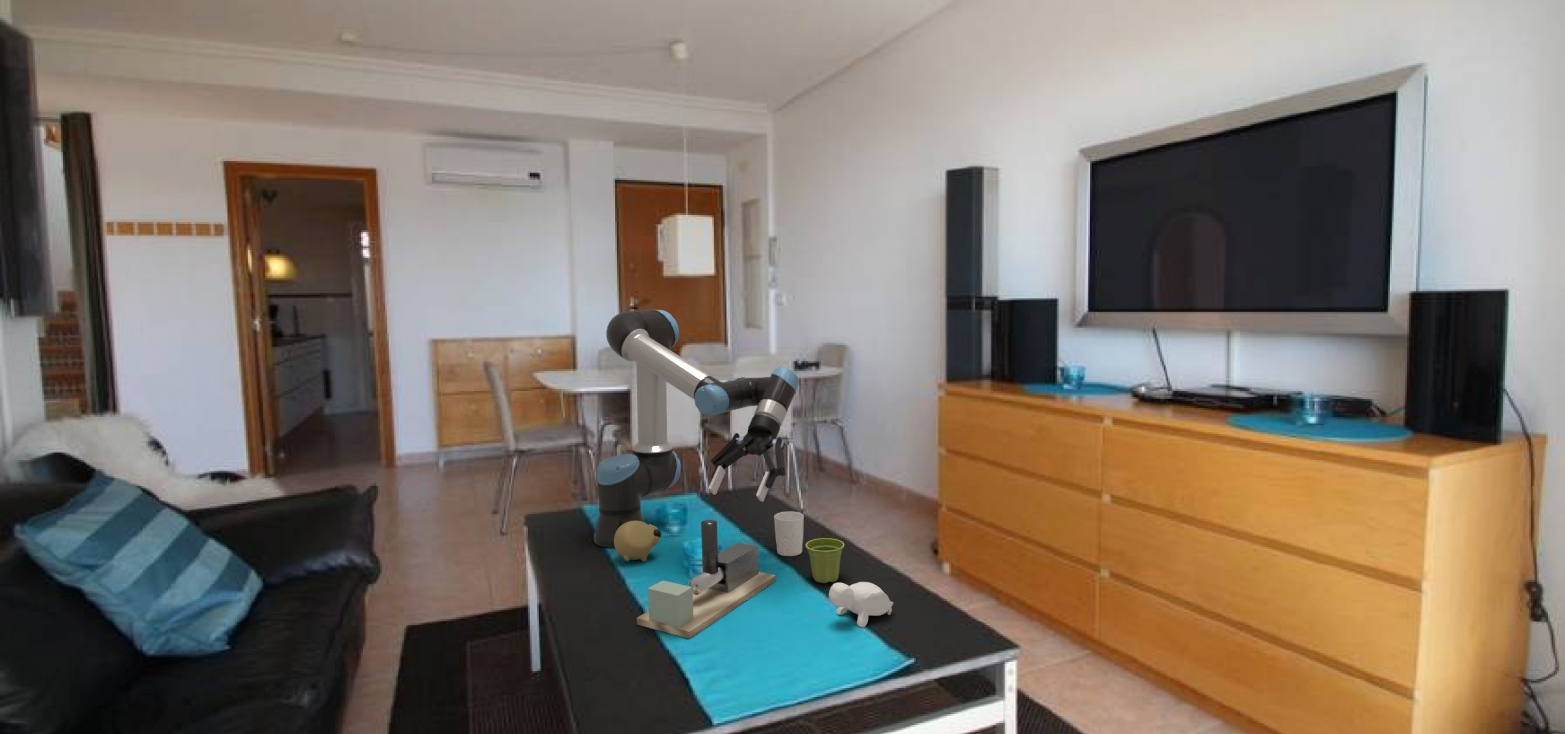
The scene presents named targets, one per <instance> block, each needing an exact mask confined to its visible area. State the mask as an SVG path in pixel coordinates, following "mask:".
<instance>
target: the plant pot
mask: <svg viewBox="0 0 1565 734" xmlns="http://www.w3.org/2000/svg"><path fill="white" fill-rule="evenodd" d="M805 548H806V549H807V553H808V554H809V559H810V560H809V561H810V565H811V566H810V567H811V572H812V578H813V579H814V581H815V582H817V583H821V584H827V583H829V582H831V583H835V582H836V581H838V579H839V575H840V566H841V556H842V553H843V549H844V548H845V543H844V541H842V540H839V539H836V538H831V537H830V538H827V537H826V538H825V537H822V538H814V539H811V540H809V541H807V542H806V543H805Z"/></svg>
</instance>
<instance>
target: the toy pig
mask: <svg viewBox="0 0 1565 734" xmlns="http://www.w3.org/2000/svg"><path fill="white" fill-rule="evenodd" d="M644 522H645V521H644ZM644 522H641V521H629V522H626V523H624V524H623V525H621V526H620V527H619V528H618V529H617V531H616V533H615V537H614V546H615V551H616V555H617V556H618V557H622V558H623V559H624V561H626V562H630V560H631V561H632V560H633V561H637V560H638V561H639V560H640V561H641V562H643V563H644V562H646V561H647V558H648V556H649V554H650V553H651V552H652V550H653V548H654V547H655V546H657V545H658V543H659V542H660V540H661V537H662V532H661V531H660V530H659V529H658V527H657V526H656V525H653V524H651V523H648V524H647V523H646V522H645V523H644Z"/></svg>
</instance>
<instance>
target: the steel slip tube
mask: <svg viewBox="0 0 1565 734" xmlns="http://www.w3.org/2000/svg"><path fill="white" fill-rule="evenodd" d="M700 530H701V531H700V533H701V535H700V537H701V557H702V558H701V559H702V561H701V562H702V563H701V564H702V573H700V574H698V575H697V576H695V577H693V578H691V579H690V580H689V581H688V585H687V586H689V587H692V591H693V594H694V595H698V594H700V593H702V592H703V591H705V590H707V589H708V588H710V587H712V586H713V585H715V584H717V583H718V582H720V581H722V580H723V579H725V578H726V568H725V566H724V565H719V564H718V553H719V546H718V545H719V544H718V543H719V542H718V541H719V540H718V521H717V520H716V519H704V520H702V521H701V522H700Z"/></svg>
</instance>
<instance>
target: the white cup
mask: <svg viewBox="0 0 1565 734" xmlns="http://www.w3.org/2000/svg"><path fill="white" fill-rule="evenodd" d="M804 516H805V515H804V514H803V513H802V512H798V511H781V512H778V513H775V514H774V516H773V520H774V535H775V542H776V551H777V552H776V553H777V554H778V555H780V556H783V557H795V556H799V555H801V554H802V553H803V542H804V518H805V517H804Z"/></svg>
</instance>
